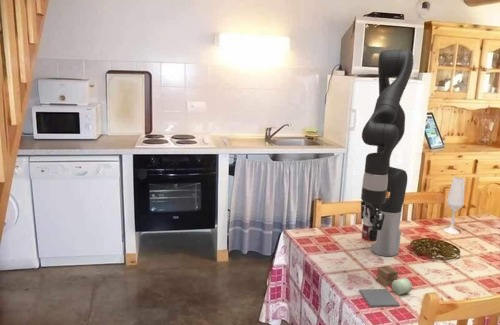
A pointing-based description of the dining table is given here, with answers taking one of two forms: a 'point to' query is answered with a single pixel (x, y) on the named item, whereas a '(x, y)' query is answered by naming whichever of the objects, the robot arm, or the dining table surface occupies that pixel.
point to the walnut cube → (386, 275)
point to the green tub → (401, 286)
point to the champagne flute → (455, 200)
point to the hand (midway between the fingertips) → (369, 237)
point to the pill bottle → (366, 231)
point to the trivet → (378, 297)
